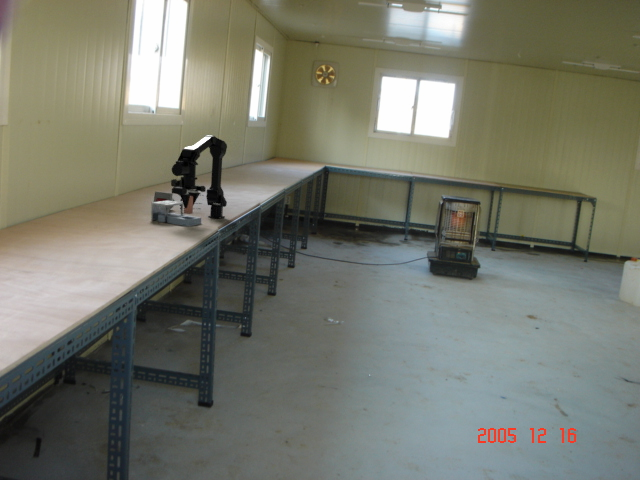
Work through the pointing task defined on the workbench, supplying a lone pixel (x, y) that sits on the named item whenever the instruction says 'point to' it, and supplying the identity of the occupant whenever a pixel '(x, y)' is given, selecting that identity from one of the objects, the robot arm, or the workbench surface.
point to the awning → (163, 208)
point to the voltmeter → (166, 198)
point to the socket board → (180, 219)
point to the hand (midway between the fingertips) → (188, 207)
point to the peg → (189, 206)
